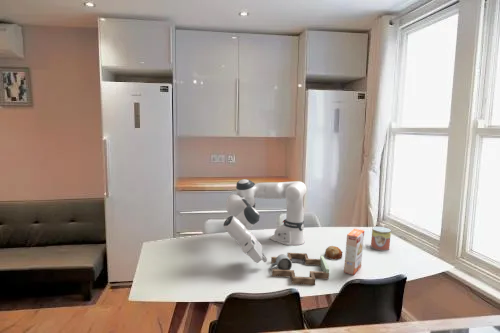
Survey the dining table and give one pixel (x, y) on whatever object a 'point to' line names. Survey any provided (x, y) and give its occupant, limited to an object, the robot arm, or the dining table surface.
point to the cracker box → (353, 251)
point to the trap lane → (300, 259)
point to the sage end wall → (324, 265)
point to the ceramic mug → (282, 263)
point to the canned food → (380, 238)
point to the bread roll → (333, 252)
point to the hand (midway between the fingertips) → (266, 260)
